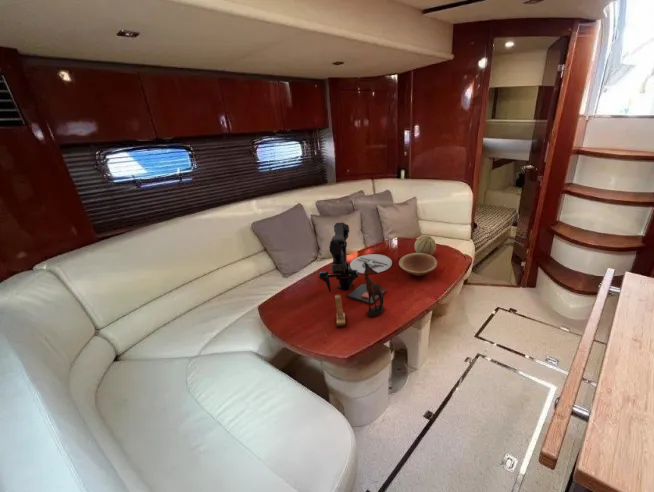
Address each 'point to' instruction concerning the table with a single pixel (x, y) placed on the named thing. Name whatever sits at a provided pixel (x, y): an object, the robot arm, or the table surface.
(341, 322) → the tan wooden tall post
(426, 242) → the cantaloupe
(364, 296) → the block
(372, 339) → the table surface
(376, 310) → the statue
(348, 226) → the robot arm
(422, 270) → the bowl
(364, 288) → the board
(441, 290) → the table surface
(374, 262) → the plate
